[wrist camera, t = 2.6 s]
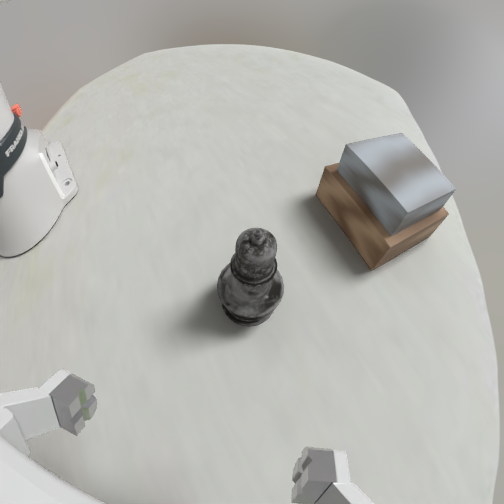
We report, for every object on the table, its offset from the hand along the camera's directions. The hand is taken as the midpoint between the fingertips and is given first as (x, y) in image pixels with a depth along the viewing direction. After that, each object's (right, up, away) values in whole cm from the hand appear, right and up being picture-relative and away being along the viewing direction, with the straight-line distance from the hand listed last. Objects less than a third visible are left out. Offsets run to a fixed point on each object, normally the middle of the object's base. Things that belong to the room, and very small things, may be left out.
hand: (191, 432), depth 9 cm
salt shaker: (+2, +2, +20) cm, 21 cm away
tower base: (+18, +11, +27) cm, 34 cm away
